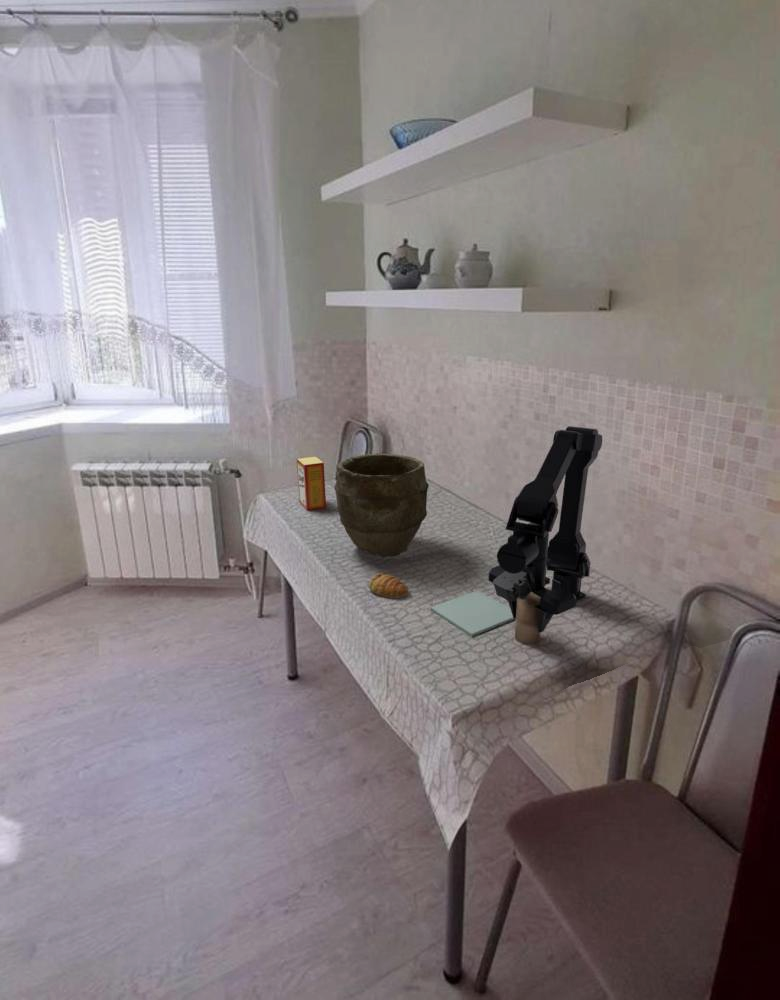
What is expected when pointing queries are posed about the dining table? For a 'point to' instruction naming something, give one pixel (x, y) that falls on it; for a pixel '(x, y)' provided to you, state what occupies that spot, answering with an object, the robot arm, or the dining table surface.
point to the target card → (474, 613)
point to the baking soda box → (311, 483)
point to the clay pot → (381, 501)
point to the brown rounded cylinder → (527, 619)
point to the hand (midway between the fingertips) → (528, 624)
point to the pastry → (388, 586)
